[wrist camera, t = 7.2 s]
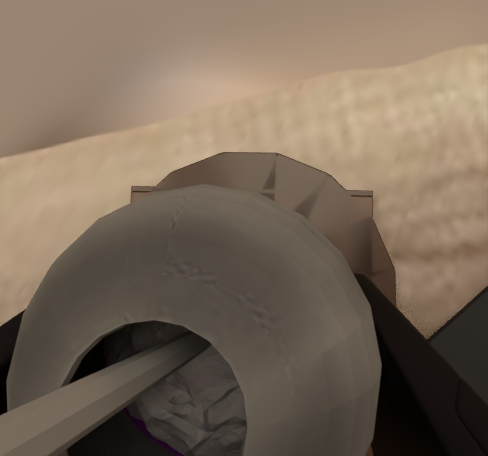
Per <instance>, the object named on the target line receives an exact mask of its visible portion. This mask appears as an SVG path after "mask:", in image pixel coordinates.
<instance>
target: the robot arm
mask: <svg viewBox="0 0 488 456" xmlns="http://www.w3.org/2000/svg"><path fill="white" fill-rule="evenodd" d="M353 274H354V276H355V278H356V280H357V282H358V284H359V285H360V287H361V289H362V291H363V293H364V295H365V297H366V298H367V300H368V302H369V304H370V306H371V311H372V317H373V322H374V327H375V332H376V337H377V343H378V348H379V353H380V358H381V364H382V367H381V377H380V386H379V394H378V403H377V411H376V419H375V428H374V436H373V440H372V442H371V447H372V452H373V456H488V404H487V403H486V402H485V401H484V400H483V399H482V398H481V397H480V396H479V395H478V394H477V393H476V392H475V391H474V390H473V389H472V388H471V386H470V385H469V384H468V383H467V382H466V381H465V380H464V379H463V378H460V375H459V374H458V373H457V372H456V371H455V370H454V368H453V367H452V366H451V365H450V364H449V363H448V362H447V361H446V360H445V359H444V358H443V357H442V356H441V355H440V353H439V352H438V351H437V350H436V349H435V348H434V347H433V346H432V345H431V344H430V343H429V342H428V341H427V340H426V339H425V337H424V336H423V335H422V334H421V333H420V332H419V331H418V330H417V329H416V328H415V327H414V326H413V325H412V324H411V322H410V321H409V320H408V319H407V318H406V317H405V316H404V315H403V314H402V313H401V312H400V311H399V310H398V309H397V307H396V306H395V305H394V304H393V303H392V302H391V301H390V300H389V299H388V298H387V297H386V296H385V295H384V294H383V292H382V291H381V290H380V289H379V288H378V287H377V286H376V285H375V284H374V283H373V282H372V281H371V280H370V279H369V278H368V276H367V275H366V274H364V273H358V272H353ZM25 310H26V309H25ZM25 310H24V311H22V312H21V313H19V314H18V315H16V316H15V317H13V318H12V319H10V320H9V321H8V322H6V323H5V324H3V325H2V326H0V415H2V414H4V413H7V412H8V411H7V382H6V381H7V377H8V373H9V369H10V365H11V361H12V357H13V353H14V349H15V345H16V341H17V337H18V333H19V329H20V325H21V321H22V317H23V313H24V312H25Z"/></svg>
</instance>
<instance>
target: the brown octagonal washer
mask: <svg viewBox="0 0 488 456" xmlns="http://www.w3.org/2000/svg"><path fill="white" fill-rule="evenodd" d="M202 184H206V185H213V186H219V187H226V188H232V189H239V190H245V191H252V192H257V193H259V194H261V195H264V196H266V197H268V198H270V199H272V200H274V201H276V202H278V203H280V204H282V205H284V206H286V207H288V208H290V209H292V210H294V211H296V212H298V213H300V214H302V215H304V216H305V217H306V218H307V219H308V220H309V221H310V222H311V223H312V224H313V225H314V226H315V227H316V228H317V229H318V230H319V231H320V232H321V233H322V234H323V235H324V236H325V237H326V238H327V239H328V240H329V241H330V242H331V243H333V244H334V245H335V246H336V247H337V248H338V249H339V251H340V252H341V253H342V254H343V256H344V258H345V260H346V261H347V263H348V265H349V267H350V269H351V271H352V272H358V273H364V274H366V275H367V276H368V278H369V279H370V280H371V281H372V282H373V283H374V284H375V285H376V286H377V287H378V288H379V289H380V290H381V291H382V292H383V294H384V295H385V296H386V297H387V298H388V299H389V300H390V301H391V302H392V303H393V304H394V305H395V306H396V282H395V268H394V266H393V264H392V262H391V259H390V257H389V255H388V252H387V250H386V248H385V245H384V243H383V241H382V239H381V236H380V234H379V232H378V229H377V227H376V225H375V222H374V220H373V198H372V196H373V191H358V190H345V189H344V188H343V187H342V186H341V185H340V184H339V183H338V182H337V181H336V180H335V179H334V178H333V177H332V176H331V175H329V174H328V173H325V172H323V171H320V170H318V169H315V168H313V167H311V166H308V165H306V164H303V163H301V162H299V161H296V160H294V159H291V158H289V157H286V156H284V155H282V154H279V153H278V154H277V153H248V152H223V153H219V154H217V155H214V156H212V157H209V158H206V159H204V160H201V161H199V162H196V163H194V164H191V165H188V166H186V167H183V168H181V169H178V170H175V171H173V172H171V173H170V174H169V175H168V176H167V177H165V178H164V179H163V180H162V181H161V182H160V183H159V184H158V185H157V186H156V187H149V186H132V188H131V191H132V192H131V203H132V202H134V201H136V200H138V199H140V198H142V197H144V196H146V195H148V194H151V193H153V192H158V191H164V190H171V189H177V188H183V187H190V186H196V185H202ZM365 456H373V452H372V447H371V444H370V446H369V449H368V451H367V453H366V455H365Z"/></svg>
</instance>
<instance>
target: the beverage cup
mask: <svg viewBox="0 0 488 456" xmlns="http://www.w3.org/2000/svg"><path fill="white" fill-rule="evenodd" d="M381 367H382V364H381V358H380V353H379V348H378V343H377V337H376V332H375V327H374V322H373V317H372V311H371V306H370V304H369V302H368V300H367V298H366V297H365V295H364V293H363V291H362V289H361V287H360V285H359V284H358V282H357V280H356V278H355V276H354V274H353V272H352V271H351V269H350V267H349V265H348V263H347V261H346V260H345V258H344V256H343V254H342V253H341V252H340V251H339V249H338V248H337V247H336V246H335V245H334V244H333V243H331V242H330V241H329V240H328V239H327V238H326V237H325V236H324V235H323V234H322V233H321V232H320V231H319V230H318V229H317V228H316V227H315V226H314V225H313V224H312V223H311V222H310V221H309V220H308V219H307V218H306V217H305V216H304V215H302V214H300V213H298V212H296V211H294V210H292V209H290V208H288V207H286V206H284V205H282V204H280V203H278V202H276V201H274V200H272V199H270V198H268V197H266V196H264V195H261V194H259V193H257V192H252V191H245V190H239V189H232V188H226V187H219V186H213V185H206V184H202V185H196V186H190V187H183V188H177V189H171V190H164V191H158V192H153V193H151V194H148V195H146V196H144V197H142V198H140V199H138V200H136V201H134V202H132V203H130V204H128V205H126V206H124V207H122V208H120V209H118V210H116V211H114V212H112V213H110V214H108V215H106V216H104V217H102V218H100V219H98V220H97V221H96V222H95V223H94V224H93V225H92V226H91V227H90V228H88V229H87V230H86V231H85V232H84V233H83V234H82V235H81V236H80V237H79V238H78V239H77V240H76V241H75V242H74V243H73V244H72V245H71V246H70V247H68V248H67V249H66V250H65V251H64V252H63V253H62V254H61V255H60V256H59V257H58V258H57V259H56V261H55V262H54V263H53V264H52V265H51V267H50V268H49V270H48V272H47V274H46V275H45V277H44V279H43V281H42V282H41V284H40V286H39V287H38V289H37V291H36V293H35V294H34V296H33V298H32V300H31V301H30V303H29V305H28V306H27V308H26V310H25V312H24V313H23V317H22V321H21V325H20V329H19V333H18V337H17V341H16V345H15V349H14V353H13V357H12V361H11V365H10V369H9V373H8V377H7V381H6V382H7V411H8V412H7V413H4V414H2V415H0V456H365V455H366V453H367V451H368V449H369V446H370V444H371V442H372V440H373V436H374V428H375V419H376V411H377V403H378V394H379V386H380V377H381Z"/></svg>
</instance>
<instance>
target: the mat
mask: <svg viewBox="0 0 488 456" xmlns="http://www.w3.org/2000/svg"><path fill="white" fill-rule="evenodd" d="M427 341H428V342H429V343H430V344H431V345H432V346H433V347H434V348H435V349H436V350H437V351H438V352H439V353H440V355H441V356H442V357H443V358H444V359H445V360H446V361H447V362H448V363H449V364H450V365H451V366H452V367H453V368H454V370H455V371H456V372H457V373H458V374H459V375H460V378H463V379H464V380H465V381H466V382H467V383H468V384H469V385H470V386H471V388H472V389H473V390H474V391H475V392H476V393H477V394H478V395H479V396H480V397H481V398H482V399H483V400H484V401H485V402H486V403H487V404H488V287H486V288H485V289H484V290H483V291H482V292H481V293H480V294H479V295H477V296H476V297H475V298H474V299H473V300H472V301H471V302H470V303H468V304H467V305H466V306H465V307H464V308H463V309H462V310H461V311H459V312H458V313H457V314H456V315H455V316H454V317H453V318H452V319H451V320H449V321H448V322H447V323H446V324H445V325H444V326H443V327H442V328H440V329H439V330H438V331H437V332H436V333H435V334H434V335H433V336H431V337H430V338H429V339H428V340H427Z"/></svg>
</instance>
